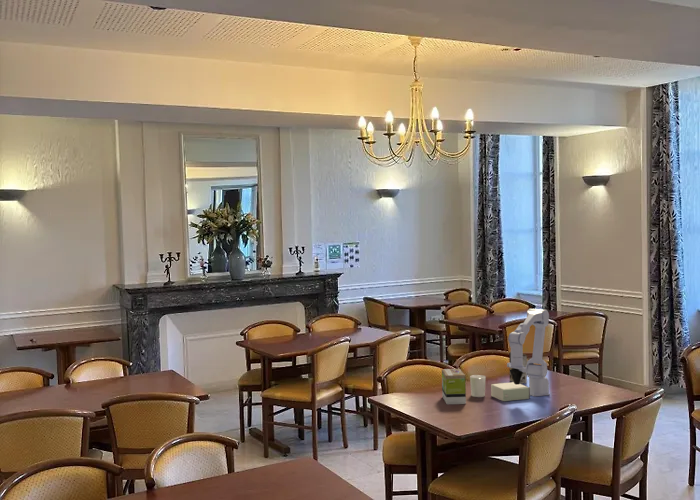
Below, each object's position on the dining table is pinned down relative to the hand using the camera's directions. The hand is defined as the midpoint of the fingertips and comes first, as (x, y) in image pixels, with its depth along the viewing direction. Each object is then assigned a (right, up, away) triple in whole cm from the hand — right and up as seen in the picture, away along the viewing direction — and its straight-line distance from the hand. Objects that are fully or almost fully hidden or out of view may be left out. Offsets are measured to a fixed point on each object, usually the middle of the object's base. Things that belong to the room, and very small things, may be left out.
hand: (516, 384), depth 336 cm
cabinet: (-1, -9, +12) cm, 15 cm away
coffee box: (+12, -8, +45) cm, 48 cm away
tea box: (-30, -10, +7) cm, 32 cm away
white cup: (-16, -9, +16) cm, 25 cm away
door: (+1, -9, +5) cm, 10 cm away
